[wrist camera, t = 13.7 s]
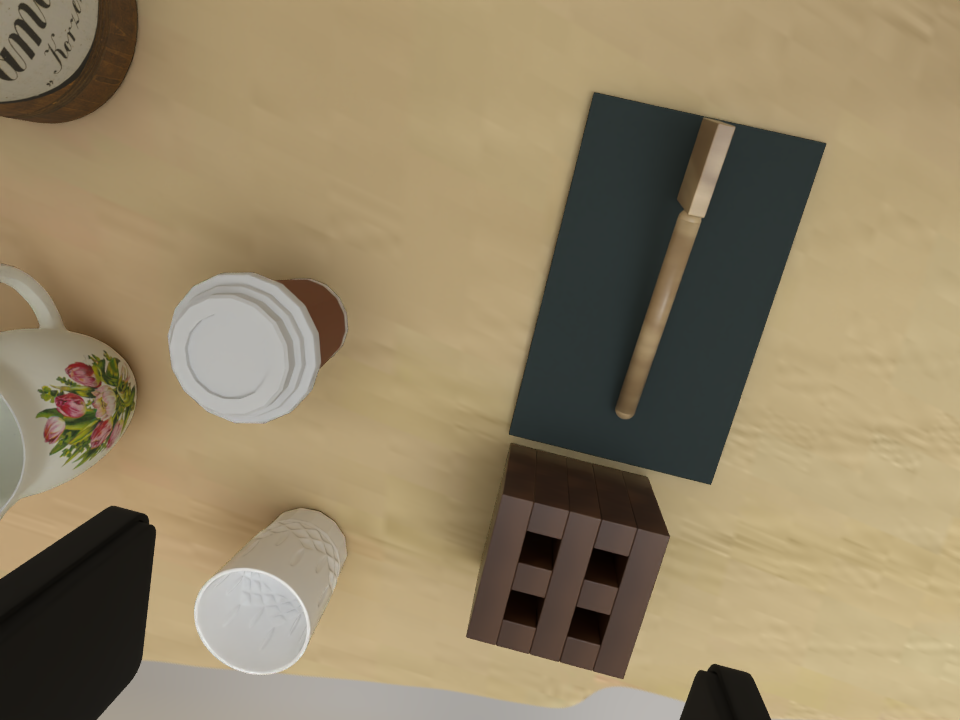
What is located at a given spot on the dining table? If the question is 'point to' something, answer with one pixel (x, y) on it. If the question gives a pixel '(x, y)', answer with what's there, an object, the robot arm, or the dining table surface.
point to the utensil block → (568, 561)
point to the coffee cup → (254, 343)
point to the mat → (632, 278)
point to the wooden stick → (676, 254)
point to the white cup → (272, 593)
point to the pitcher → (55, 398)
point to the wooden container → (63, 56)
